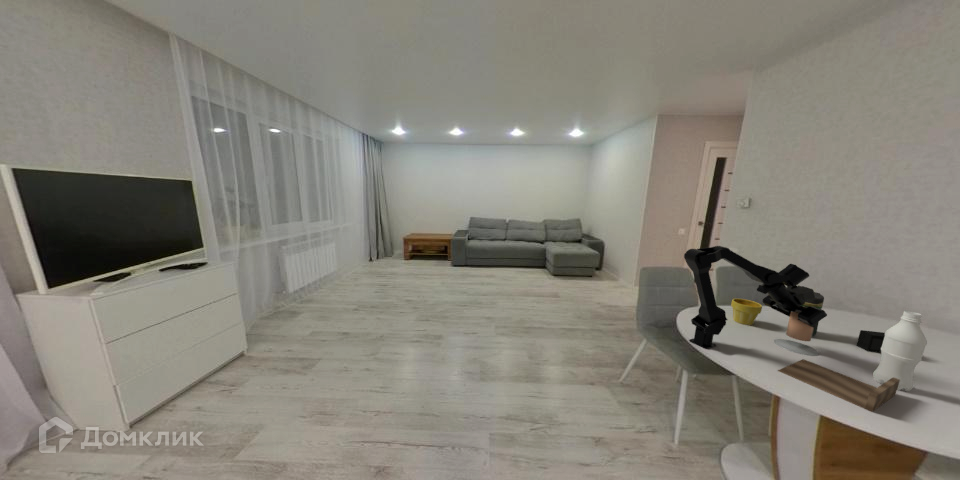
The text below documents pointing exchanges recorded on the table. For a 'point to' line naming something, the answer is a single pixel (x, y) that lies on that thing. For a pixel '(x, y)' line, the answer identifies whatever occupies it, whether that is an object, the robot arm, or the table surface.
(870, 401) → the wooden bookend
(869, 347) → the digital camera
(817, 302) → the coffee jar
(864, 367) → the table surface
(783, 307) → the robot arm
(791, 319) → the terracotta pot
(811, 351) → the ceramic saucer
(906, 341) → the water bottle
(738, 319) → the plant pot
